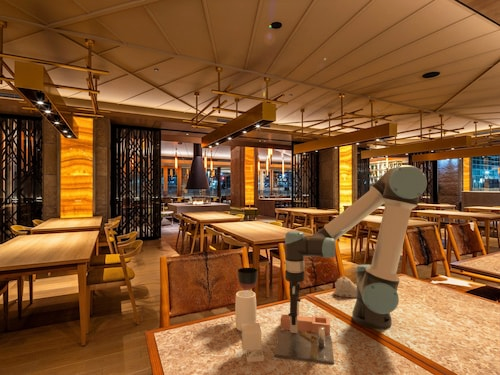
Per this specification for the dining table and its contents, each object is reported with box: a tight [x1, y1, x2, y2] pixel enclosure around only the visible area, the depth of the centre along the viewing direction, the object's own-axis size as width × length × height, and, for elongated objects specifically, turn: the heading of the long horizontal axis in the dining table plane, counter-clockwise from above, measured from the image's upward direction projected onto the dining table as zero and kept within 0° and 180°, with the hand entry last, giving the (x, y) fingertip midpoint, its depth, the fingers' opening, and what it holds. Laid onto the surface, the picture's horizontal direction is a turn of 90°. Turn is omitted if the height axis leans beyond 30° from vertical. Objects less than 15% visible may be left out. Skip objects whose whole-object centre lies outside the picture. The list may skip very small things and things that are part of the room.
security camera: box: [240, 322, 265, 363], centre depth 92 cm, size 6×7×10 cm
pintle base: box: [273, 327, 335, 365], centre depth 97 cm, size 19×17×8 cm
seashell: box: [333, 275, 357, 299], centre depth 147 cm, size 12×14×10 cm
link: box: [280, 313, 331, 336], centre depth 111 cm, size 19×7×4 cm, turn 77°
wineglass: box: [237, 267, 258, 291], centre depth 123 cm, size 8×9×20 cm
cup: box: [234, 289, 257, 332], centre depth 111 cm, size 8×8×14 cm
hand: (294, 324), depth 111 cm, fingers open, 11 cm apart
